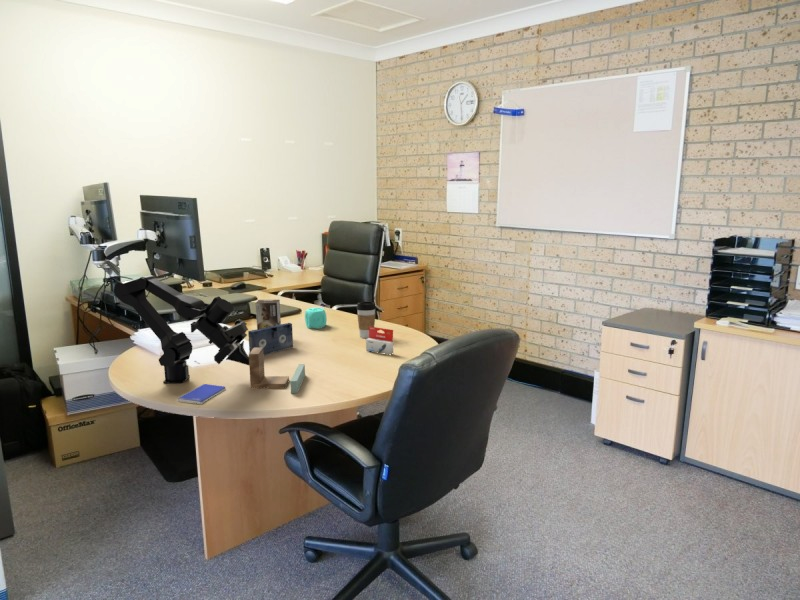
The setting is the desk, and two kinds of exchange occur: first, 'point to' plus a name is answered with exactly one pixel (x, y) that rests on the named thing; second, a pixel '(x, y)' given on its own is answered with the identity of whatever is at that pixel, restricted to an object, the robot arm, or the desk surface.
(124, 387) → the desk surface
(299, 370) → the board
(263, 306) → the coffee box
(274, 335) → the vhs cassette tape
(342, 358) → the desk surface
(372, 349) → the ink cartridge box
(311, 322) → the decorative dice
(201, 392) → the hard drive
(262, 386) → the bookend
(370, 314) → the coffee cup
